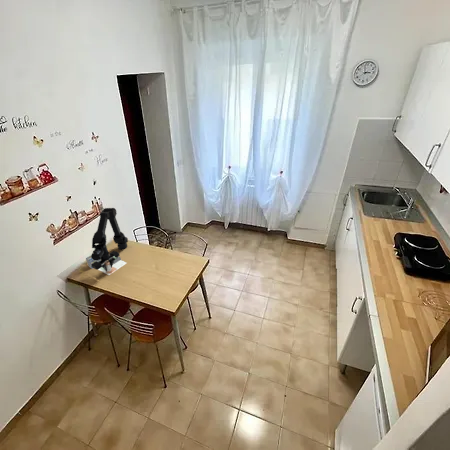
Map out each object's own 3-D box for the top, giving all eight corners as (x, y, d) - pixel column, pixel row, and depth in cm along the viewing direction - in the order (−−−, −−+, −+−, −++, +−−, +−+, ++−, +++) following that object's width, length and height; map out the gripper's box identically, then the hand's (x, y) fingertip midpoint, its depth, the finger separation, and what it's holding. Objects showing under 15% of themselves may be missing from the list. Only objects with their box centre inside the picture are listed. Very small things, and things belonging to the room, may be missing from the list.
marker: (109, 269, 183) (107, 260, 179) (113, 270, 181) (110, 261, 177) (105, 271, 180) (102, 263, 176) (108, 273, 179) (106, 264, 175)
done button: (115, 257, 194) (114, 255, 193) (117, 258, 192) (117, 256, 191) (111, 259, 191) (111, 257, 190) (114, 260, 190) (113, 258, 189)
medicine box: (92, 269, 185) (88, 260, 180) (88, 267, 187) (85, 257, 183) (102, 264, 190) (99, 254, 186) (98, 261, 192) (95, 252, 188)
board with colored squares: (116, 257, 197) (115, 254, 196) (129, 263, 190) (128, 260, 189) (95, 270, 184) (94, 267, 182) (108, 277, 177) (108, 274, 176)
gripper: (107, 241, 183) (112, 258, 190) (83, 255, 169) (89, 273, 177) (117, 245, 178) (122, 263, 185) (93, 260, 164) (99, 278, 171)
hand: (108, 269), depth 180 cm, fingers closed on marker, 4 cm apart
